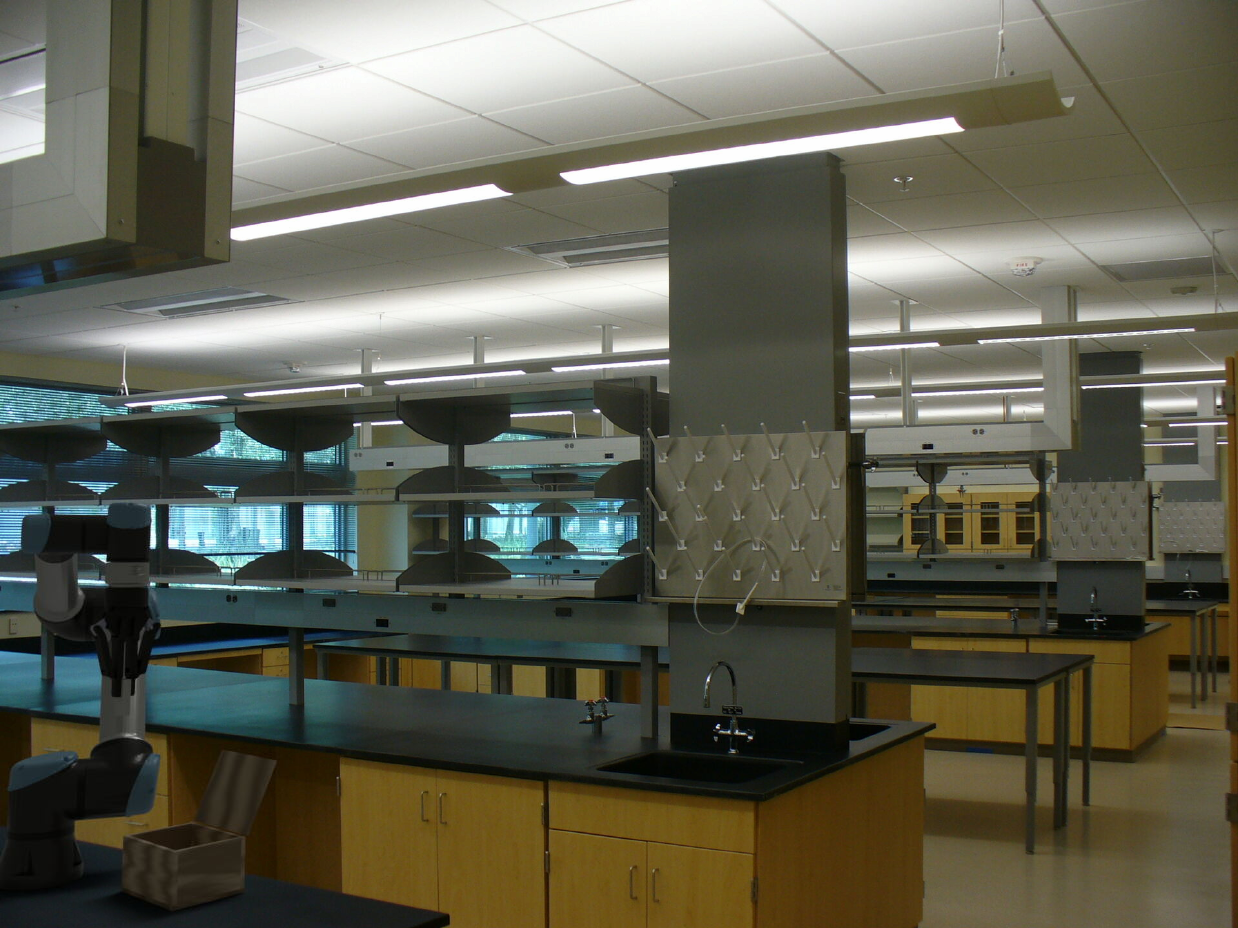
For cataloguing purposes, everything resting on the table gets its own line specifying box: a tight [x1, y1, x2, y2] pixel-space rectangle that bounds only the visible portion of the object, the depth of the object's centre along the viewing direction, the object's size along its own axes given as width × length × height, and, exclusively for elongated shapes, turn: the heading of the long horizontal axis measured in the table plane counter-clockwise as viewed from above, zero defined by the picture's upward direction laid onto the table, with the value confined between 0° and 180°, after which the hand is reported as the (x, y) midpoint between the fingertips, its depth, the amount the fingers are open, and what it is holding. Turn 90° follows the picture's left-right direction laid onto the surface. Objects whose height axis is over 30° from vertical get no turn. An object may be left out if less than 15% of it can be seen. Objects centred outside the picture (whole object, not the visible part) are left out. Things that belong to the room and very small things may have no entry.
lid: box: [193, 749, 278, 837], centre depth 216 cm, size 18×14×1 cm
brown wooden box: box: [120, 821, 246, 912], centre depth 207 cm, size 18×14×10 cm
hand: (122, 714), depth 207 cm, fingers closed
